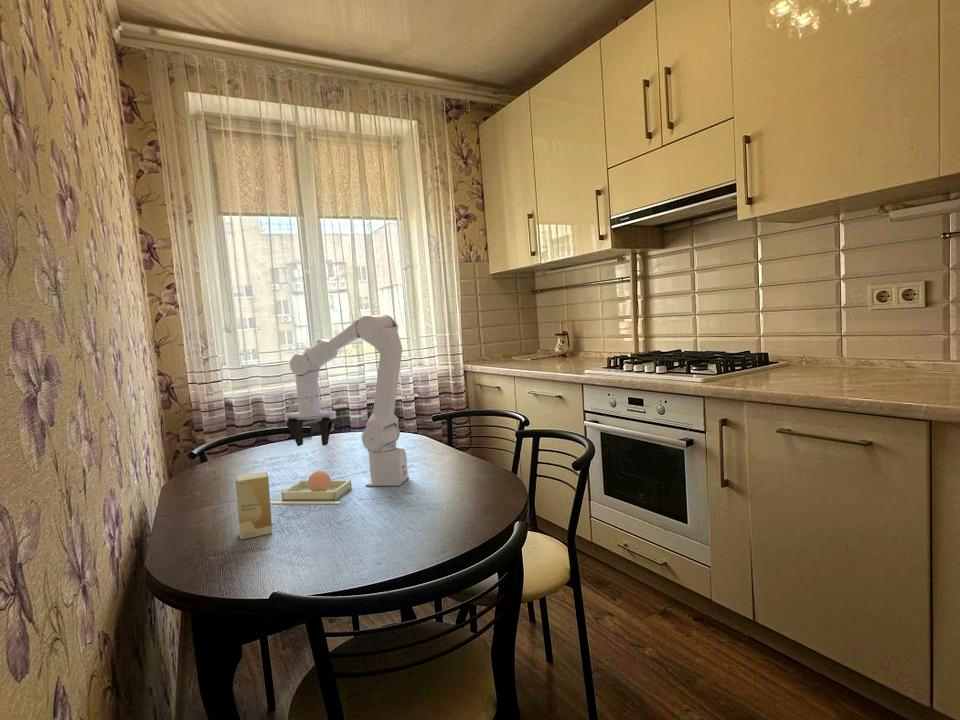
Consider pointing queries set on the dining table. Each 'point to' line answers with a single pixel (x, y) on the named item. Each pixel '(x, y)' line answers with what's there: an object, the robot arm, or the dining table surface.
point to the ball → (319, 481)
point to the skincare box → (253, 505)
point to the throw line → (305, 502)
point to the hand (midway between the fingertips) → (312, 445)
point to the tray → (304, 493)
